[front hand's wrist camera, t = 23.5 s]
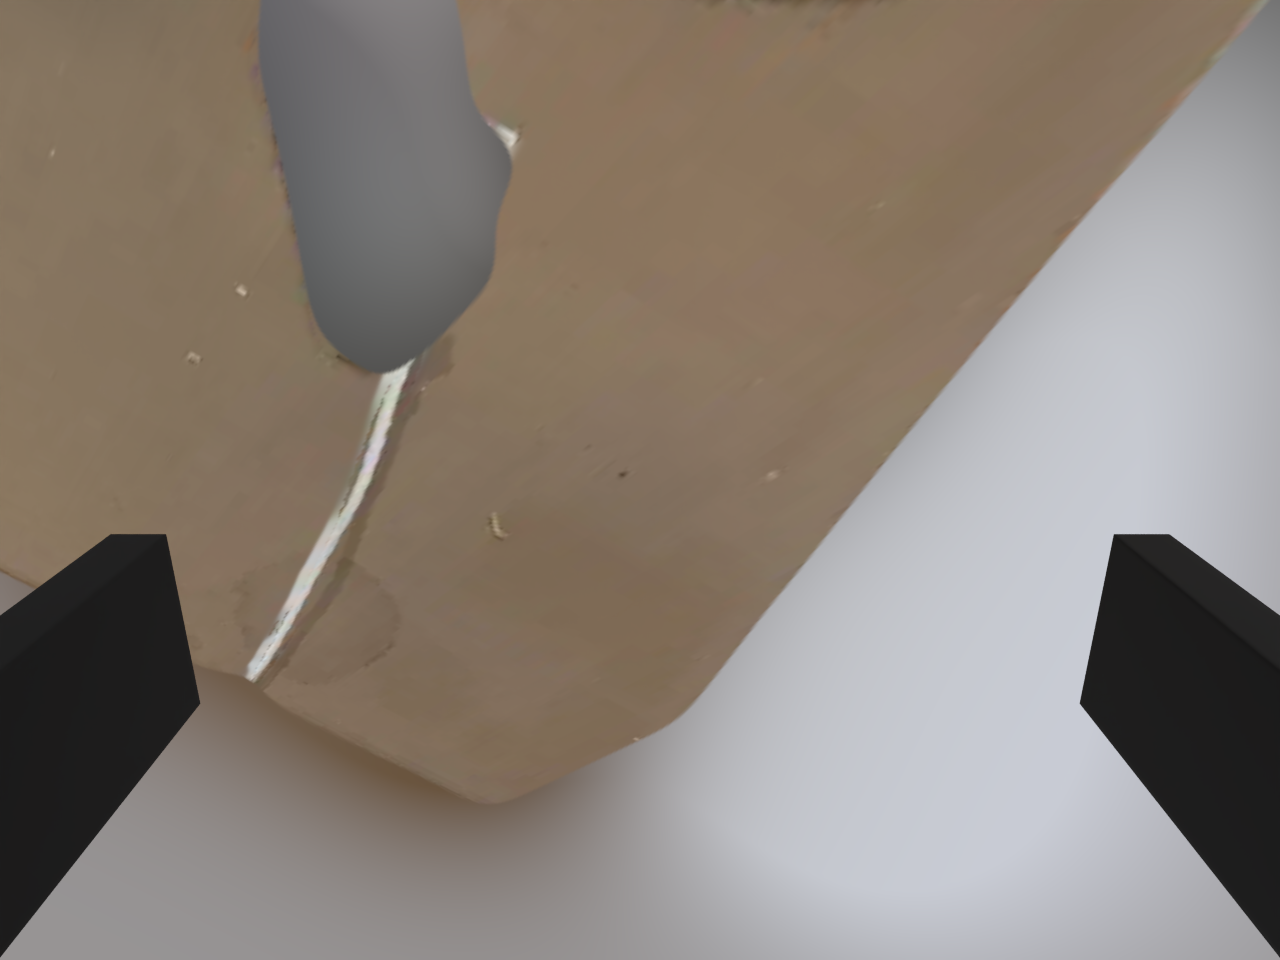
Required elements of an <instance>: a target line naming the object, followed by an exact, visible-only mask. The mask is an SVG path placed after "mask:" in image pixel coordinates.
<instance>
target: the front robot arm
mask: <svg viewBox="0 0 1280 960" xmlns="http://www.w3.org/2000/svg"><path fill="white" fill-rule="evenodd" d="M199 704H200V700H199V695H198V690H197V685H196V680H195V675H194V670H193V665H192V660H191V655H190V650H189V645H188V640H187V636H186V631H185V626H184V621H183V616H182V611H181V606H180V601H179V596H178V591H177V586H176V581H175V576H174V571H173V566H172V561H171V556H170V551H169V546H168V541H167V536H166V534H111V535H109V536H108V537H106V538H105V539H104V540H102V541H101V542H100V543H98V544H97V545H96V546H94V547H93V548H91V549H90V550H89V551H87V552H86V553H85V554H83V555H82V556H81V557H79V558H78V559H77V560H75V561H74V562H72V563H71V564H70V565H68V566H67V567H66V568H64V569H63V570H62V571H60V572H59V573H57V574H56V575H55V576H53V577H52V578H51V579H49V580H48V581H47V582H45V583H44V584H42V585H41V586H40V587H38V588H37V589H36V590H34V591H33V592H32V593H30V594H29V595H28V596H26V597H25V598H23V599H22V600H21V601H19V602H18V603H17V604H15V605H14V606H13V607H11V608H10V609H8V610H7V611H6V612H4V613H3V614H2V615H0V957H1V956H2V954H3V953H4V952H5V951H6V949H7V948H8V947H9V945H10V944H11V943H12V942H13V940H14V939H15V938H16V937H17V935H18V934H19V933H20V932H21V930H22V929H23V928H24V927H25V925H26V924H27V923H28V921H29V920H30V919H31V918H32V916H33V915H34V914H35V913H36V911H37V910H38V909H39V907H40V906H41V905H42V904H43V902H44V901H45V900H46V899H47V897H48V896H49V895H50V894H51V892H52V891H53V890H54V888H55V887H56V886H57V885H58V883H59V882H60V881H61V879H62V878H63V877H64V876H65V874H66V873H67V872H68V871H69V869H70V868H71V867H72V866H73V864H74V863H75V862H76V861H77V859H78V858H79V857H80V855H81V854H82V853H83V852H84V850H85V849H86V848H87V847H88V845H89V844H90V843H91V841H92V840H93V839H94V838H95V836H96V835H97V834H98V833H99V831H100V830H101V829H102V828H103V826H104V825H105V824H106V822H107V821H108V820H109V819H110V817H111V816H112V815H113V814H114V812H115V811H116V810H117V809H118V807H119V806H120V805H121V803H122V802H123V801H124V800H125V798H126V797H127V796H128V795H129V793H130V792H131V791H132V789H133V788H134V787H135V786H136V784H137V783H138V782H139V781H140V779H141V778H142V777H143V776H144V774H145V773H146V772H147V770H148V769H149V768H150V767H151V765H152V764H153V763H154V761H155V760H156V759H157V758H158V756H159V755H160V754H161V753H162V751H163V750H164V749H165V748H166V746H167V745H168V744H169V743H170V741H171V740H172V739H173V737H174V736H175V735H176V734H177V732H178V731H179V730H180V729H181V727H182V726H183V725H184V723H185V722H186V721H187V720H188V718H189V717H190V716H191V715H192V713H193V712H194V711H195V710H196V708H197V707H198V706H199ZM1080 704H1081V706H1082V707H1083V708H1084V710H1085V711H1086V712H1087V713H1088V714H1089V716H1090V717H1091V718H1092V720H1093V721H1094V722H1095V723H1096V725H1097V726H1098V727H1099V729H1100V730H1101V731H1102V732H1103V734H1104V735H1105V736H1106V737H1107V739H1108V740H1109V741H1110V742H1111V744H1112V745H1113V746H1114V748H1115V749H1116V750H1117V751H1118V753H1119V754H1120V755H1121V756H1122V758H1123V759H1124V760H1125V761H1126V763H1127V764H1128V765H1129V767H1130V768H1131V769H1132V770H1133V772H1134V773H1135V774H1136V775H1137V777H1138V778H1139V779H1140V781H1141V782H1142V783H1143V784H1144V786H1145V787H1146V788H1147V789H1148V791H1149V792H1150V793H1151V795H1152V796H1153V797H1154V798H1155V800H1156V801H1157V802H1158V803H1159V805H1160V806H1161V807H1162V808H1163V810H1164V811H1165V812H1166V814H1167V815H1168V816H1169V817H1170V819H1171V820H1172V821H1173V822H1174V824H1175V825H1176V826H1177V828H1178V829H1179V830H1180V831H1181V833H1182V834H1183V835H1184V836H1185V838H1186V839H1187V840H1188V841H1189V843H1190V844H1191V845H1192V847H1193V848H1194V849H1195V850H1196V852H1197V853H1198V854H1199V855H1200V857H1201V858H1202V859H1203V861H1204V862H1205V863H1206V864H1207V866H1208V867H1209V868H1210V869H1211V871H1212V872H1213V873H1214V874H1215V876H1216V877H1217V878H1218V880H1219V881H1220V882H1221V883H1222V885H1223V886H1224V887H1225V888H1226V890H1227V891H1228V892H1229V894H1230V895H1231V896H1232V897H1233V899H1234V900H1235V901H1236V902H1237V904H1238V905H1239V906H1240V907H1241V909H1242V910H1243V911H1244V913H1245V914H1246V915H1247V916H1248V918H1249V919H1250V920H1251V921H1252V923H1253V924H1254V925H1255V927H1256V928H1257V929H1258V930H1259V932H1260V933H1261V934H1262V935H1263V937H1264V938H1265V939H1266V940H1267V942H1268V943H1269V944H1270V945H1271V947H1272V948H1273V949H1274V951H1275V952H1276V953H1277V954H1278V956H1279V957H1280V615H1278V614H1277V613H1276V612H1274V611H1273V610H1271V609H1270V608H1269V607H1267V606H1266V605H1265V604H1263V603H1262V602H1261V601H1259V600H1258V599H1257V598H1255V597H1254V596H1252V595H1251V594H1250V593H1248V592H1247V591H1246V590H1244V589H1243V588H1242V587H1240V586H1239V585H1237V584H1236V583H1235V582H1233V581H1232V580H1231V579H1229V578H1228V577H1227V576H1225V575H1224V574H1223V573H1221V572H1220V571H1218V570H1217V569H1216V568H1214V567H1213V566H1212V565H1210V564H1209V563H1208V562H1206V561H1205V560H1203V559H1202V558H1201V557H1199V556H1198V555H1197V554H1195V553H1194V552H1193V551H1191V550H1190V549H1189V548H1187V547H1186V546H1184V545H1183V544H1182V543H1180V542H1179V541H1178V540H1176V539H1175V538H1174V537H1172V536H1171V535H1169V534H1114V536H1113V541H1112V547H1111V551H1110V556H1109V561H1108V566H1107V571H1106V576H1105V581H1104V586H1103V591H1102V596H1101V601H1100V606H1099V611H1098V616H1097V621H1096V626H1095V631H1094V635H1093V640H1092V646H1091V650H1090V655H1089V660H1088V665H1087V670H1086V675H1085V680H1084V685H1083V690H1082V695H1081V700H1080Z"/></svg>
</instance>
